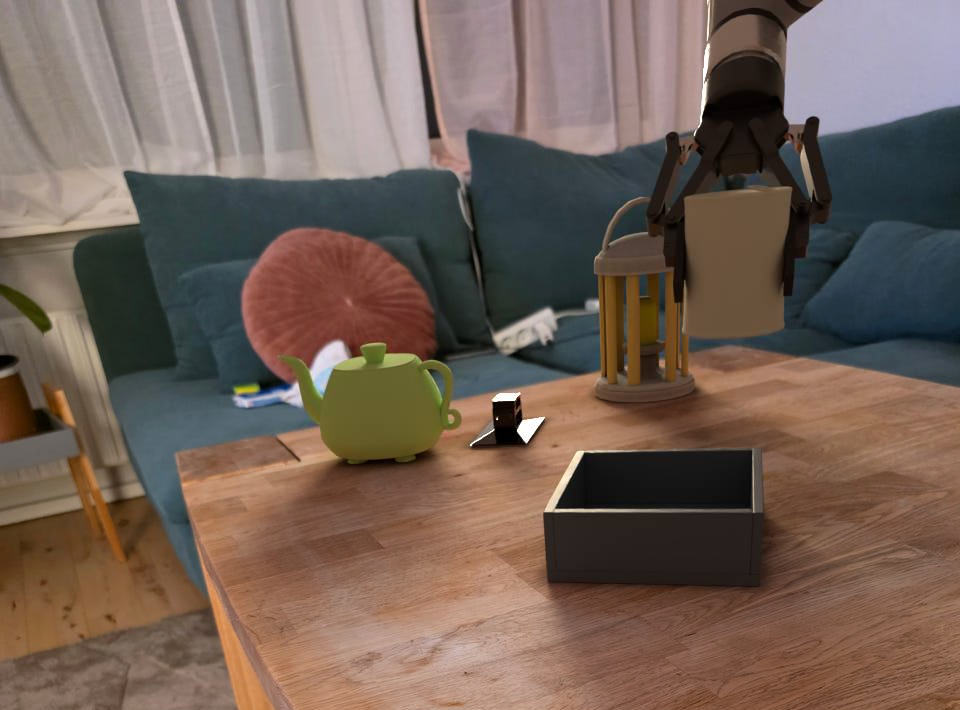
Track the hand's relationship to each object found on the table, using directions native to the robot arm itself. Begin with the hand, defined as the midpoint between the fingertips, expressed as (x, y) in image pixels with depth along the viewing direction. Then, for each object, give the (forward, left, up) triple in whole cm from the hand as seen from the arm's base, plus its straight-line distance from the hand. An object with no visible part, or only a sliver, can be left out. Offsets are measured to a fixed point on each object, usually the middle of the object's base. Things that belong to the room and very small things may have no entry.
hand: (732, 289), depth 78 cm
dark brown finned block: (+27, -24, -19) cm, 41 cm away
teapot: (+42, -16, -19) cm, 49 cm away
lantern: (+12, -45, -19) cm, 50 cm away
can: (0, -3, -4) cm, 5 cm away
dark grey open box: (+5, +13, -19) cm, 24 cm away
